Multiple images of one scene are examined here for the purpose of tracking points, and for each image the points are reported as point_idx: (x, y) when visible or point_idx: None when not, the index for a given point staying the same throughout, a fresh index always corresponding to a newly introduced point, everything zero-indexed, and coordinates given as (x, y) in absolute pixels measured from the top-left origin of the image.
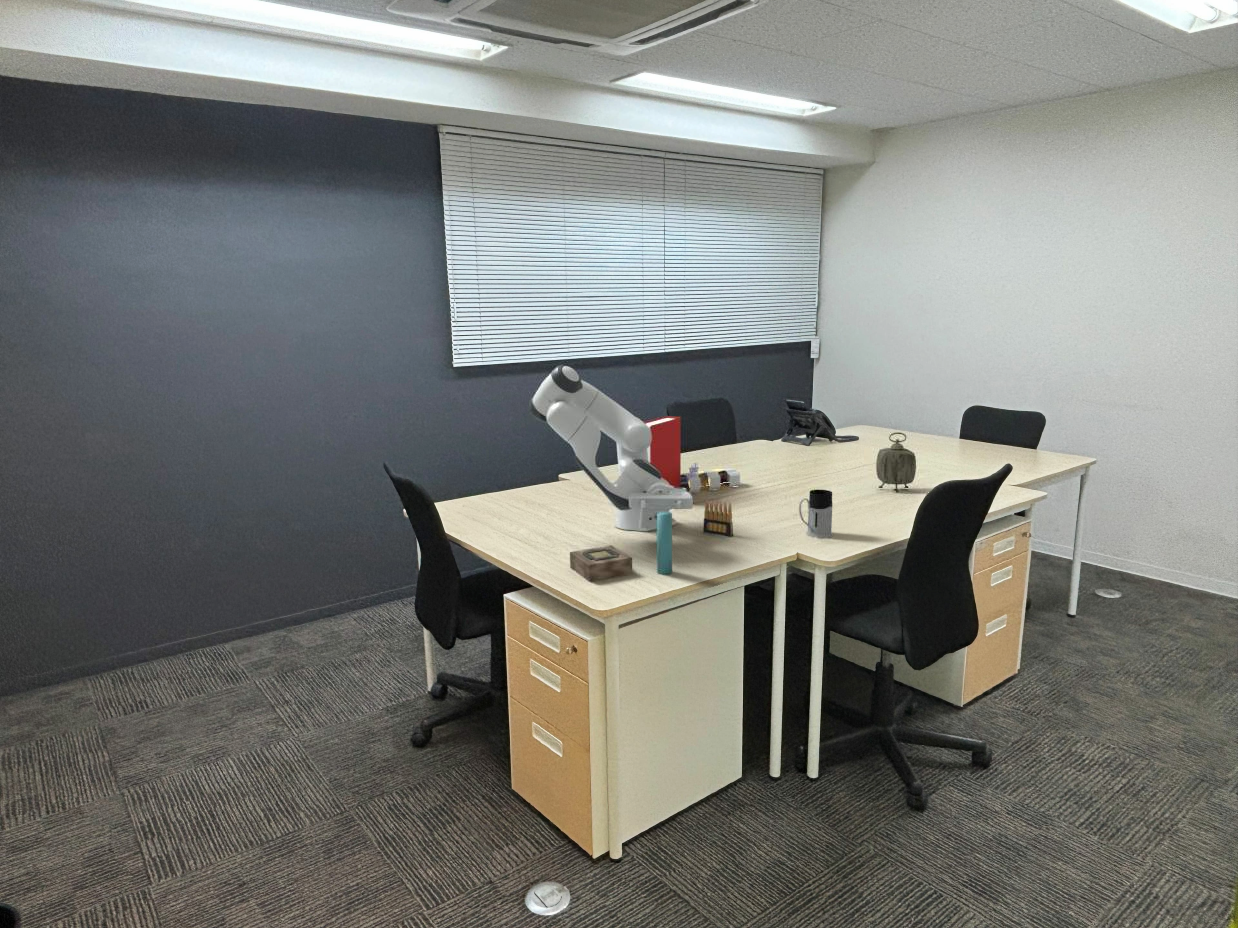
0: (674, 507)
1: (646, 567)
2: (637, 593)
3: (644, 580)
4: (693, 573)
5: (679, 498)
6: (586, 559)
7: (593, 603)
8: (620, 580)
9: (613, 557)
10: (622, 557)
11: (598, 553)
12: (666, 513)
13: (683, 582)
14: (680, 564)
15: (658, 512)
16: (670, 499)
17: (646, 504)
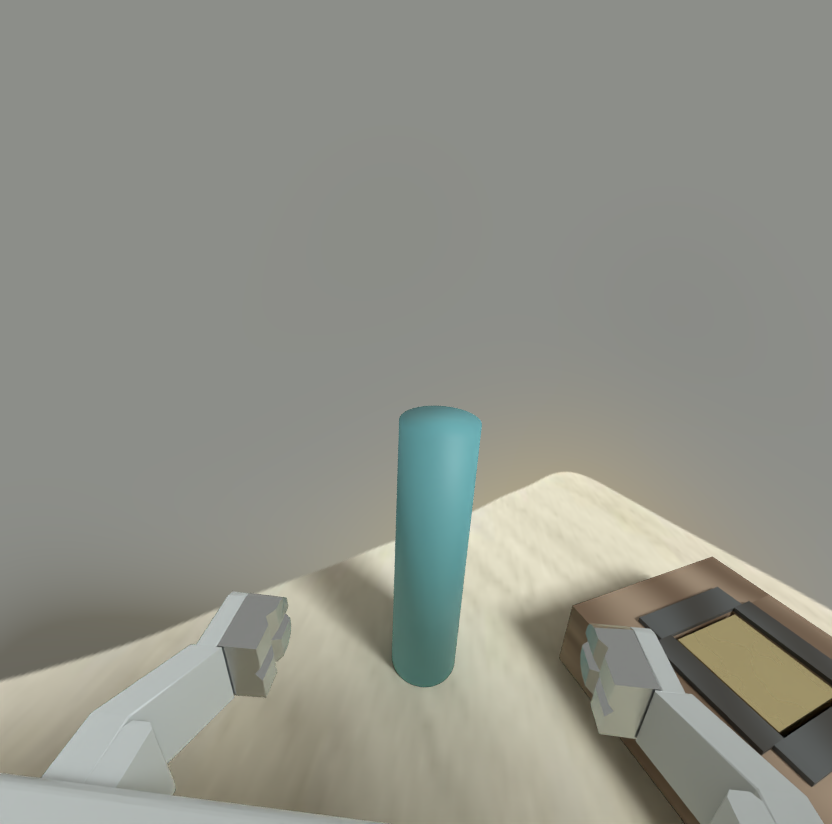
0: (275, 659)
1: (507, 738)
2: (511, 516)
3: (501, 588)
4: (312, 625)
5: (55, 785)
6: (772, 611)
7: (602, 490)
8: (585, 600)
9: (658, 611)
10: (618, 612)
11: (778, 682)
12: (429, 421)
13: (377, 558)
14: (320, 762)
15: (473, 434)
16: (235, 804)
17: (617, 628)
